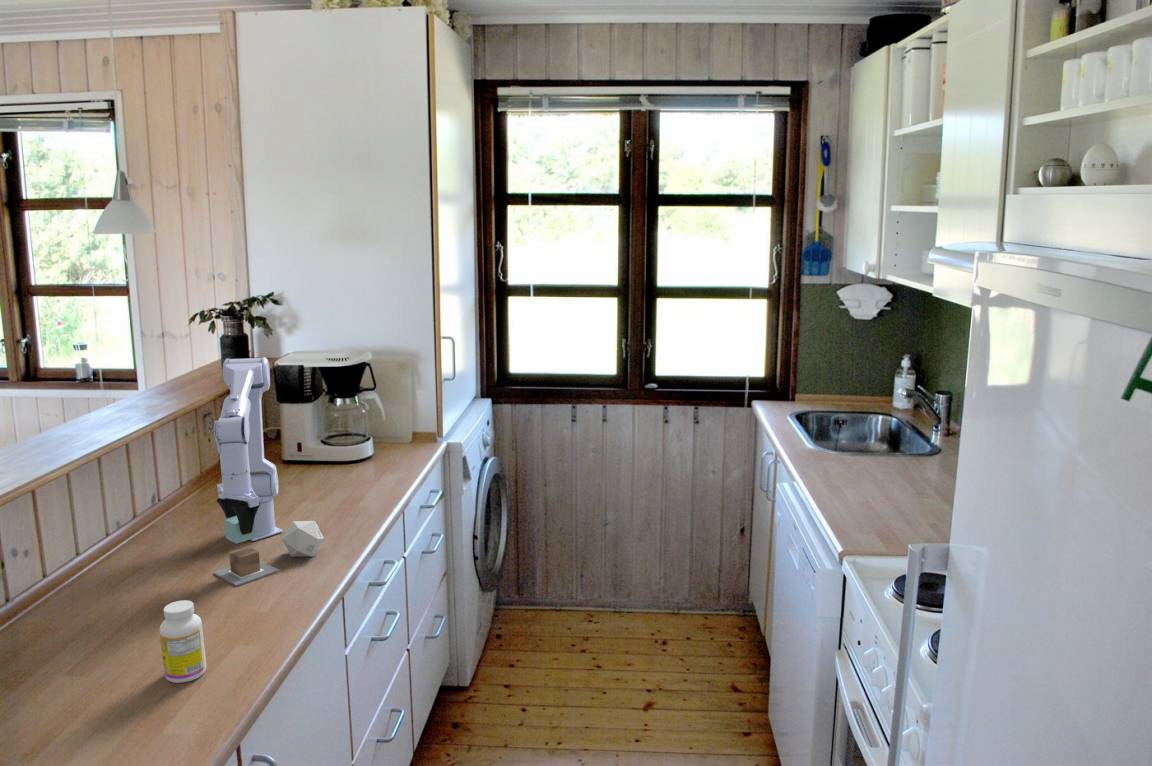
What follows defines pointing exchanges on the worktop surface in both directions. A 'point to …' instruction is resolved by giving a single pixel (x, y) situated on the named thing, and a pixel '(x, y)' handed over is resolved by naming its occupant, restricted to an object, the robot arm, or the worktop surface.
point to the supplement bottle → (182, 643)
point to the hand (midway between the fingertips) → (241, 530)
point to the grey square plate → (238, 580)
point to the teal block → (236, 531)
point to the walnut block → (244, 561)
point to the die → (303, 539)
